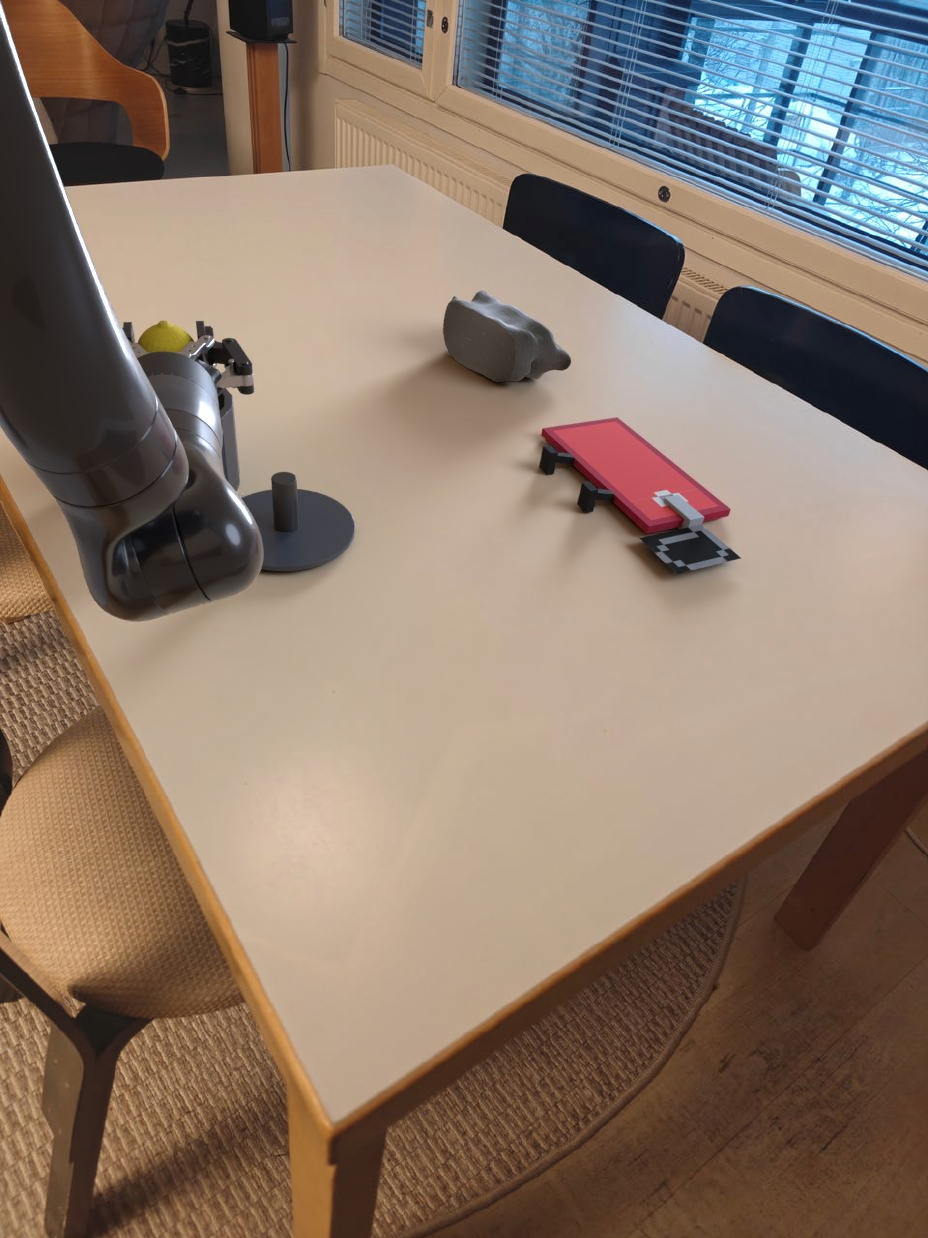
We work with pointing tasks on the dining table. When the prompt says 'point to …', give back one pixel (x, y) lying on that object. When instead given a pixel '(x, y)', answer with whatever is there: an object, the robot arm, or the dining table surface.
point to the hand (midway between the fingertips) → (165, 332)
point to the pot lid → (299, 525)
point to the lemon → (164, 338)
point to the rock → (500, 340)
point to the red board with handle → (641, 489)
